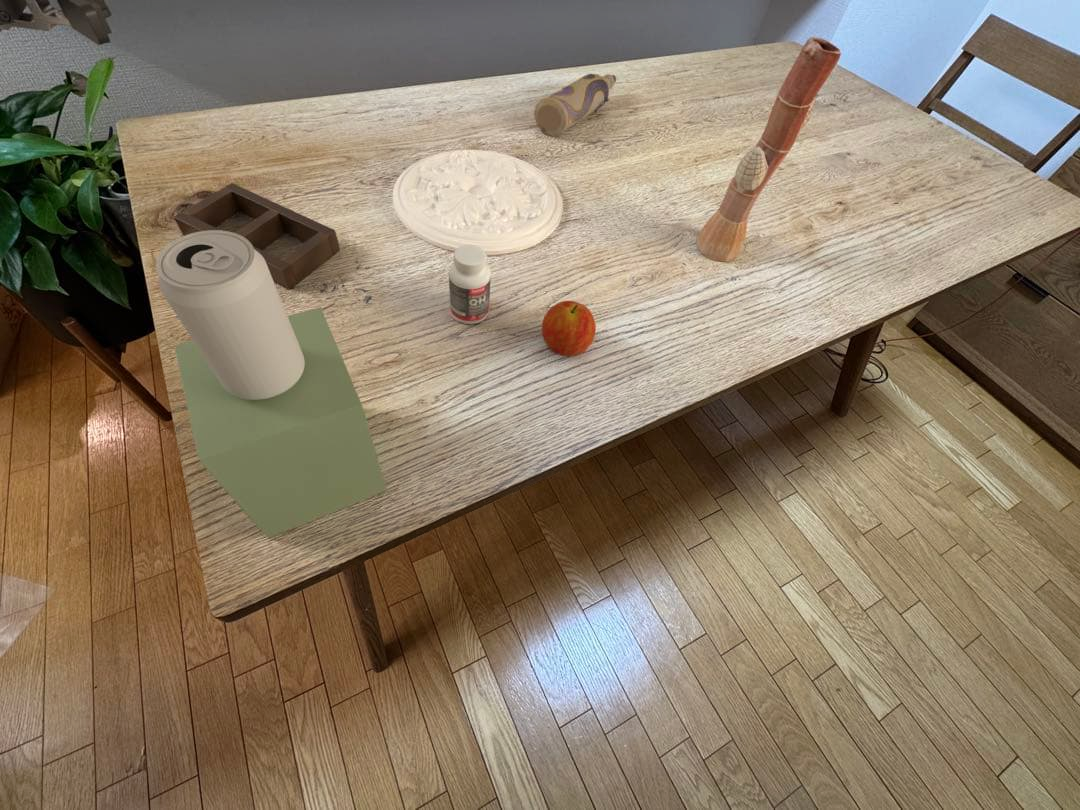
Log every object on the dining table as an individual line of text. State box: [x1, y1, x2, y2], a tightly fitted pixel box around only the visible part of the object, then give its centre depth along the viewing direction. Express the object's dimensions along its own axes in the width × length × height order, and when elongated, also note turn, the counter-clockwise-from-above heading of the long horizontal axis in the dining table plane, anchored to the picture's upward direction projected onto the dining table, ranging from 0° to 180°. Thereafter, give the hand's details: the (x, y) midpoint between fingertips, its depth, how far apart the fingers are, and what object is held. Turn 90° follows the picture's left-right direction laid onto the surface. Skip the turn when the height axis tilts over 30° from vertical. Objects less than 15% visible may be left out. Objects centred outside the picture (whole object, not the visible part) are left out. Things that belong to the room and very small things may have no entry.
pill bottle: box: [448, 245, 492, 325], centre depth 67 cm, size 5×5×10 cm
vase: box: [695, 36, 842, 263], centre depth 74 cm, size 11×7×30 cm
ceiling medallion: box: [392, 149, 564, 256], centre depth 85 cm, size 28×28×3 cm
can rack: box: [173, 182, 341, 291], centre depth 73 cm, size 10×19×4 cm, turn 63°
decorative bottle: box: [533, 73, 617, 137], centre depth 104 cm, size 26×8×7 cm, turn 145°
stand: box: [173, 306, 388, 539], centre depth 49 cm, size 12×12×16 cm
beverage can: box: [155, 229, 305, 400], centre depth 37 cm, size 6×6×12 cm
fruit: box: [541, 300, 597, 357], centre depth 66 cm, size 7×7×8 cm
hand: (25, 42), depth 32 cm, fingers open, 8 cm apart
